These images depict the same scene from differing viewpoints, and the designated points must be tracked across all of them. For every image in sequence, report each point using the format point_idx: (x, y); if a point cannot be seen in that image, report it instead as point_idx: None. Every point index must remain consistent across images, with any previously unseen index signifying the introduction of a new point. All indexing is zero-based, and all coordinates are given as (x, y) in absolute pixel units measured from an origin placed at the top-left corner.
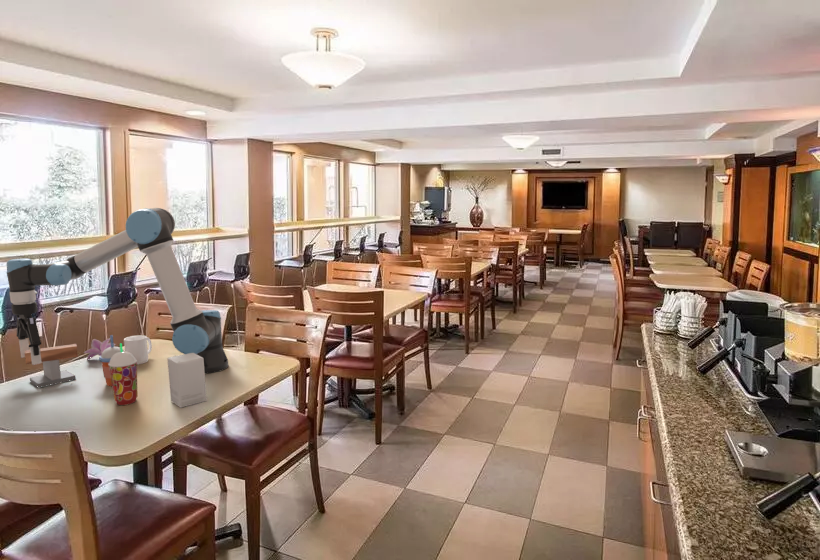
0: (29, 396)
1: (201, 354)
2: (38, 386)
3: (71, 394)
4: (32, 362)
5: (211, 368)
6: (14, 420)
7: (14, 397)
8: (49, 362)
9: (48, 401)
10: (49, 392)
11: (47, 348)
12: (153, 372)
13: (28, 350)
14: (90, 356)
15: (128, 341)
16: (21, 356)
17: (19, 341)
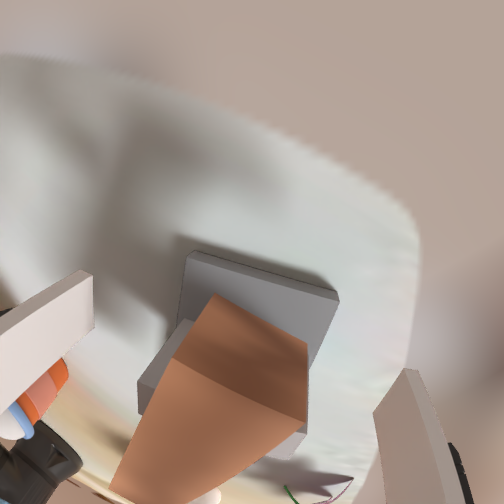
0: (114, 163)
1: (17, 442)
2: (192, 253)
3: (38, 255)
4: (66, 277)
5: None
6: (7, 70)
7: (157, 118)
8: (144, 378)
9: (31, 179)
10: (97, 234)
11: (183, 479)
12: (82, 430)
13: (275, 437)
14: (343, 491)
15: None
16: (409, 375)
17: (453, 497)
